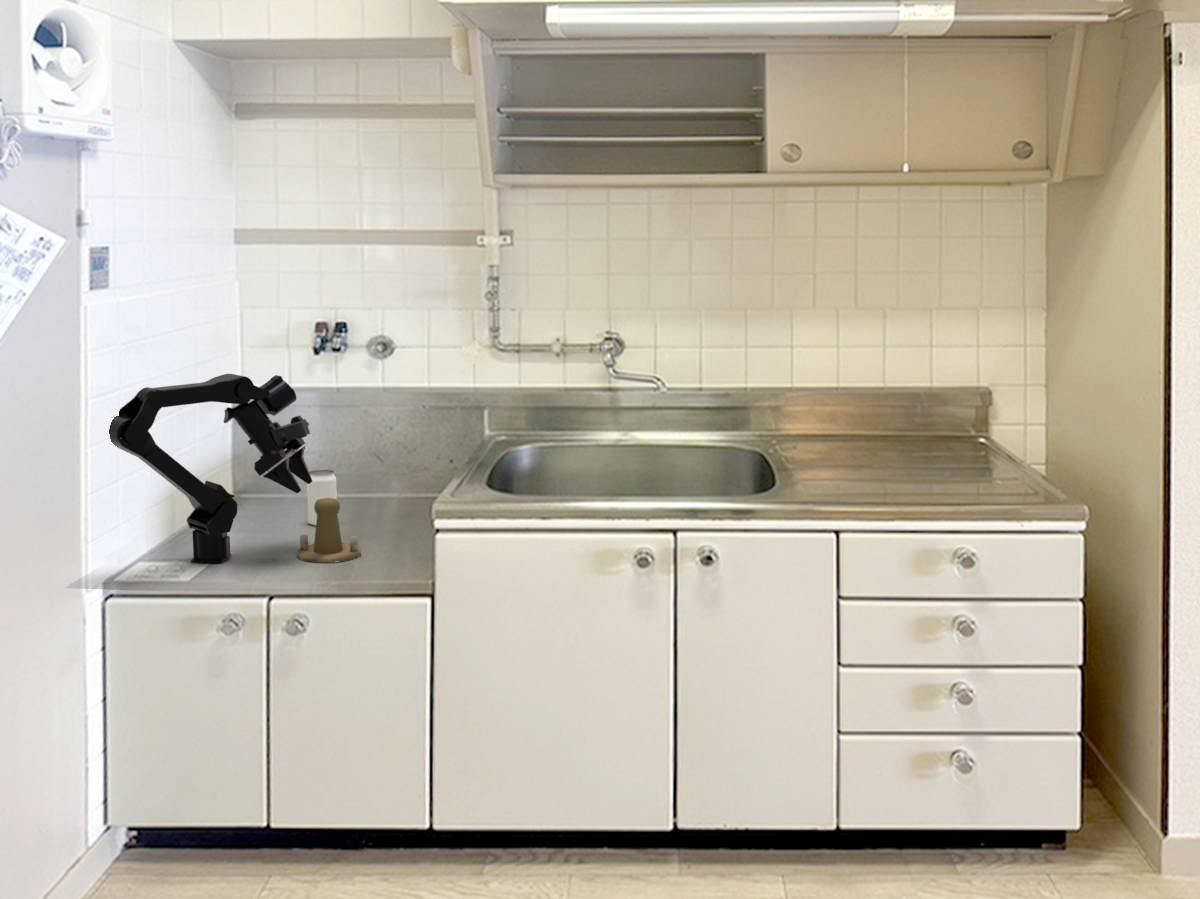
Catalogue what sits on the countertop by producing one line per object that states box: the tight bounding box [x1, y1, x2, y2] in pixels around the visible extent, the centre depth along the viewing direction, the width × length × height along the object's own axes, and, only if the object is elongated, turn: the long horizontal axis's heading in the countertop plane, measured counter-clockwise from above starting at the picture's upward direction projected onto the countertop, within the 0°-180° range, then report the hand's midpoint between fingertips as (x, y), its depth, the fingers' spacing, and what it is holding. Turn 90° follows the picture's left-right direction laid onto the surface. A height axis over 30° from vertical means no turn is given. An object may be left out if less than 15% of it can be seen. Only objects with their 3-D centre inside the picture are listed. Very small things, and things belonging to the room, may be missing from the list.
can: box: [306, 469, 338, 527], centre depth 325 cm, size 6×6×12 cm
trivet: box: [296, 534, 362, 563], centre depth 298 cm, size 13×13×4 cm
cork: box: [313, 498, 343, 554], centre depth 297 cm, size 6×6×11 cm
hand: (305, 487), depth 298 cm, fingers open, 9 cm apart
